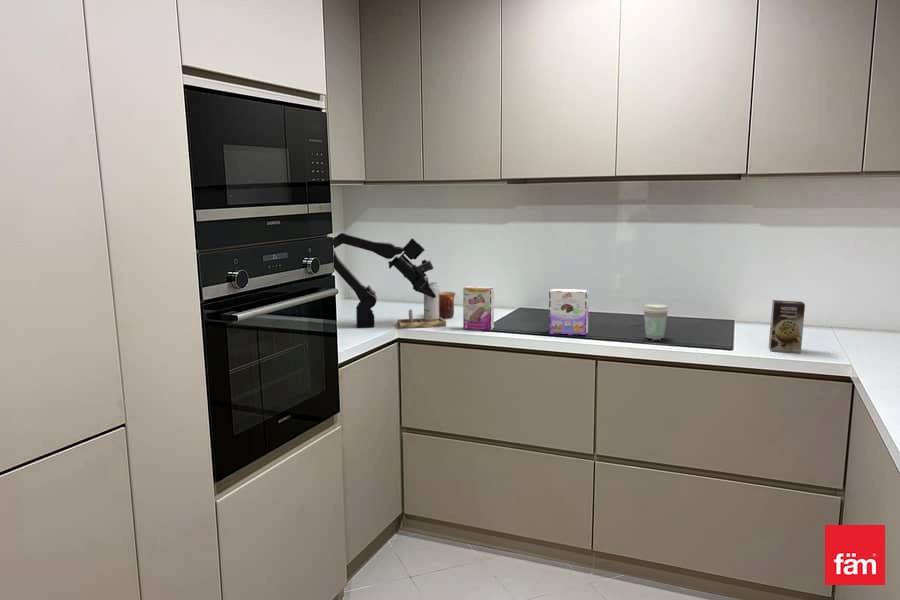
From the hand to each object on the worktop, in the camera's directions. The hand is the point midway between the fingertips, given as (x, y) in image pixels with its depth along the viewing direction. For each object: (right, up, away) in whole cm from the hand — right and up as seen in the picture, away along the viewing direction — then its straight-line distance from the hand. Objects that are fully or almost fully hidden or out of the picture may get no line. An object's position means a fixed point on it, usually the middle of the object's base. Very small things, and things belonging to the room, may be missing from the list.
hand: (434, 296), depth 261 cm
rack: (-5, -12, +1) cm, 13 cm away
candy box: (+50, -14, -17) cm, 54 cm away
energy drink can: (-1, -10, +1) cm, 10 cm away
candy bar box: (+17, -13, -7) cm, 23 cm away
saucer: (-10, -12, 0) cm, 15 cm away
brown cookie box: (+115, -18, -45) cm, 125 cm away
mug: (+5, -9, +16) cm, 19 cm away
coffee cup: (+78, -16, -27) cm, 84 cm away
